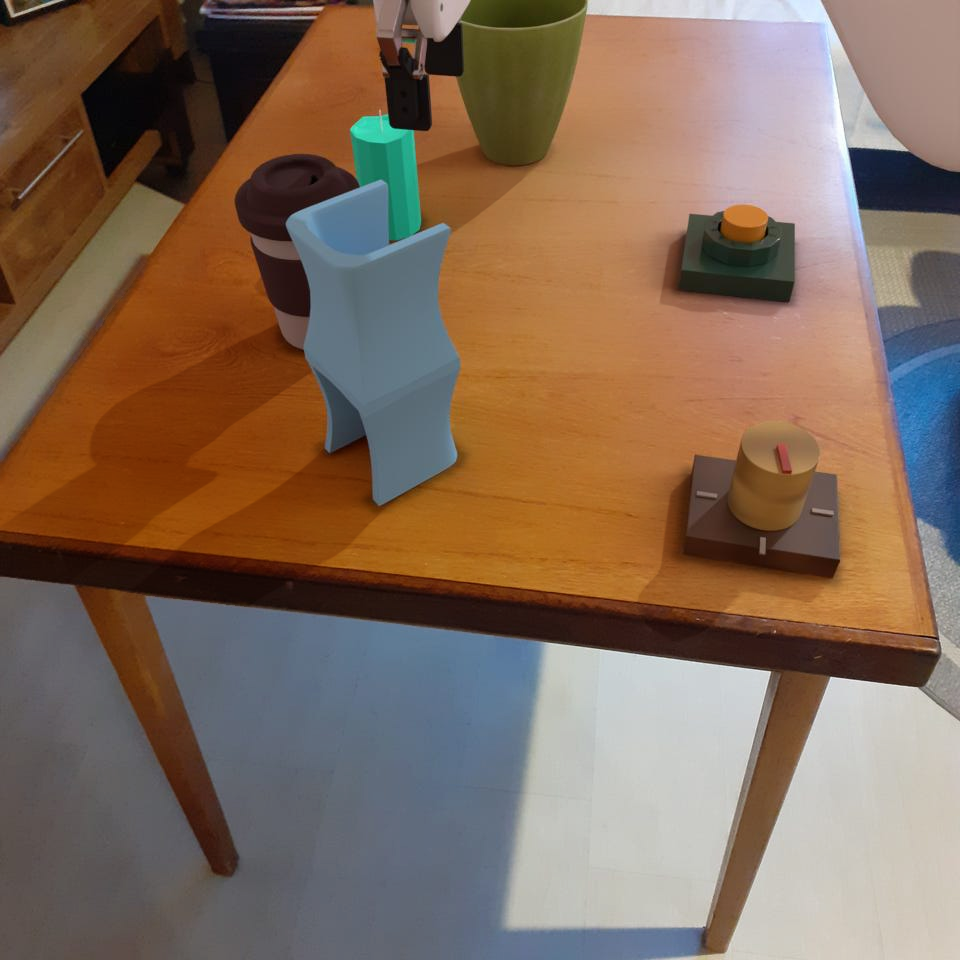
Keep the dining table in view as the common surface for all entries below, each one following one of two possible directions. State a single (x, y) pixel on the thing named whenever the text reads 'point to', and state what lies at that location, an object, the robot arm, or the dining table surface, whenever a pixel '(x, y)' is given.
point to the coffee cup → (265, 214)
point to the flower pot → (519, 73)
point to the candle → (389, 170)
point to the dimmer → (730, 540)
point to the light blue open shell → (379, 336)
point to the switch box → (738, 261)
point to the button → (744, 223)
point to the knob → (772, 475)
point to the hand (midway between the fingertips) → (428, 100)
